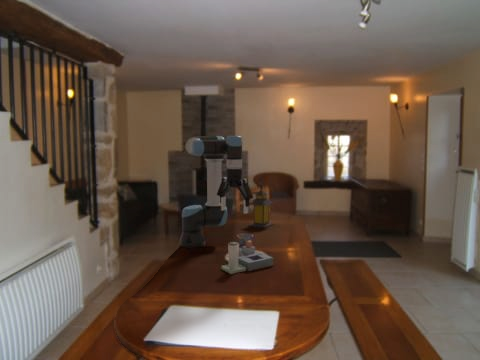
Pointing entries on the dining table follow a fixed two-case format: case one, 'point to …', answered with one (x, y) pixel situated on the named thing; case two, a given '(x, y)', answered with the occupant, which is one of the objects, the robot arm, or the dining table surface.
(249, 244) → the plunger
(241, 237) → the mug
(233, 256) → the cylinder
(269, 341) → the dining table surface
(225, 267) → the tray
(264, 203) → the lantern
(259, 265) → the housing
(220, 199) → the robot arm
